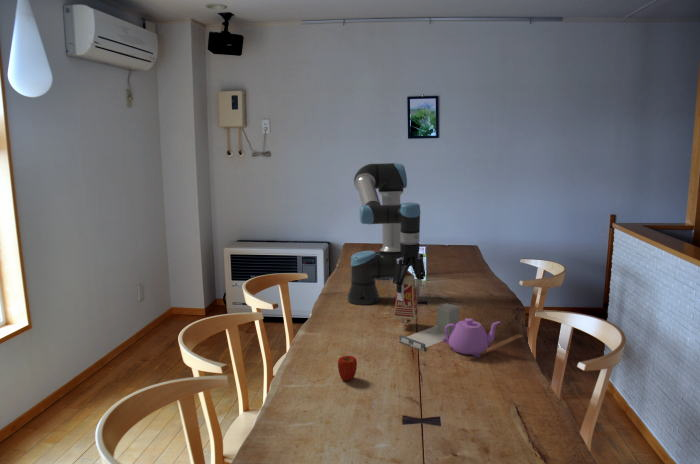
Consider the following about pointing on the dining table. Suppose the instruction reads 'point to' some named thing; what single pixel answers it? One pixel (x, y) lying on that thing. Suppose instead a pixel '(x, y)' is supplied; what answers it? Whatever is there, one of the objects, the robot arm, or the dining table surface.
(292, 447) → the dining table surface
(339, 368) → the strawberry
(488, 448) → the dining table surface
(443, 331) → the grey rectangular block
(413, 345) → the grey angled plate
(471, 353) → the teapot
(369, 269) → the robot arm
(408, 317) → the milk carton
